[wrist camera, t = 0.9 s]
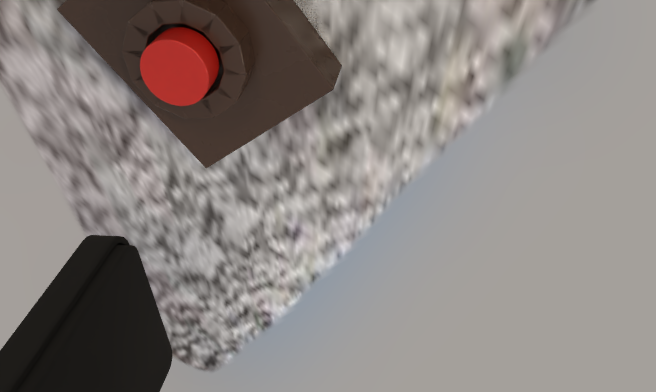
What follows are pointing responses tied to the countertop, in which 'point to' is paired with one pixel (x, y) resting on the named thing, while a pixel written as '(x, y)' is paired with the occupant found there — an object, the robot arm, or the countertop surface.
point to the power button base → (234, 63)
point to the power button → (179, 66)
